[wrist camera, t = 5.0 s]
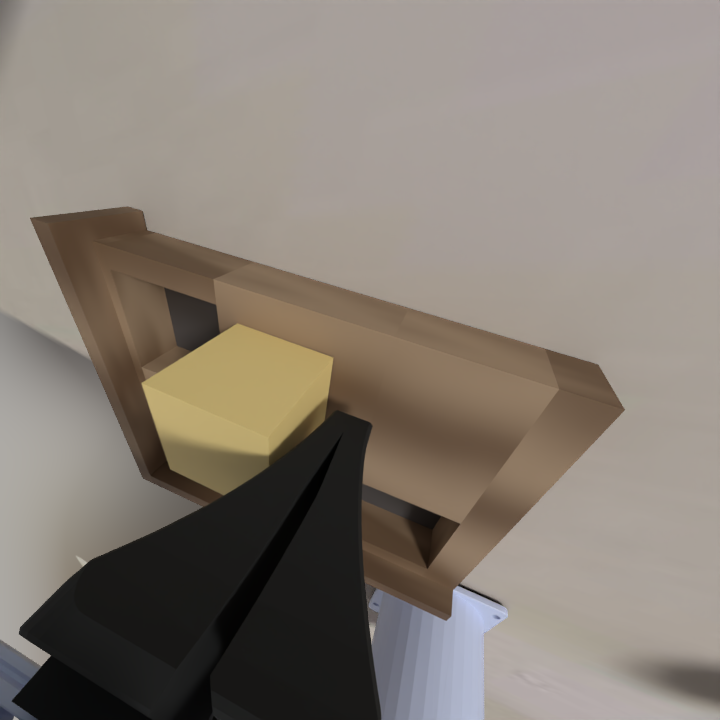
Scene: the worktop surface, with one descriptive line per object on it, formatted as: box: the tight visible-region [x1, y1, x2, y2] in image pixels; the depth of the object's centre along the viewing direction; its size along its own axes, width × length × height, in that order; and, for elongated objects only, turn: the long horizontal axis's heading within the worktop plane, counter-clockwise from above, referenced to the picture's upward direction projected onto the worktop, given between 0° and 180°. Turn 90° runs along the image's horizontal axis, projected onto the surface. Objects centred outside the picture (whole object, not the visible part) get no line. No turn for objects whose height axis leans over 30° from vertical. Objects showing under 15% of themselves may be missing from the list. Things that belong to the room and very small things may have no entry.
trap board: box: [30, 207, 625, 621], centre depth 15 cm, size 16×20×4 cm
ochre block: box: [141, 323, 333, 495], centre depth 11 cm, size 4×4×4 cm
